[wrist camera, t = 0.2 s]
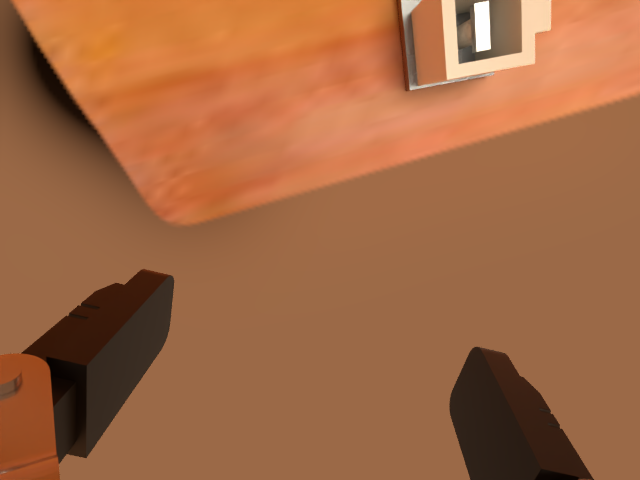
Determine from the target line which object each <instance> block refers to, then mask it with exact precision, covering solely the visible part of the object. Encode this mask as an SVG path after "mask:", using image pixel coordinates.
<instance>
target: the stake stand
mask: <svg viewBox="0 0 640 480" xmlns="http://www.w3.org/2000/svg"><path fill="white" fill-rule="evenodd" d="M421 1H422V0H397V5H398V15H399V25H400V35H401V45H402V55H403V65H404V75H405V85H406V91H409V90H414V89H420V88H425V87H431V86H436V85H441V84H447V83H452V82H458V81H463V80H468V79H474V78H479V77H485V76H490V75H494V72H491V73H487V74H481V75H476V76H470V77H465V78H460V79H454V80H449V81H443V82H438V83H433V84H427V85H422V86H418V81H417V70H416V59H415V48H414V37H413V27H412V16H411V11H412V10H413V9H414V8H415V7H416V6H417V5H418V4H419V3H420V2H421ZM456 28H457V45H458V61H459V64H462V63H468V62H473V61H475V53H476V52H481V51H486V50H489V49H491V47H490V20H489V1H486V2H480V3H475V4H473V5H472V6H470V12H465V13H460V14H456Z"/></svg>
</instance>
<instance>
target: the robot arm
mask: <svg viewBox="0 0 640 480" xmlns="http://www.w3.org/2000/svg"><path fill="white" fill-rule="evenodd" d="M173 289H174V278H173V276H171V275H167V274H163V273H158V272H154V271H150V270H145V269H143V270H141V271H139V272H138V273H137V274H136V275H135V276H134V277H133V278H132V279H130V280H129V281H128V282H127V283H126V284H125V285H123V284H119V283H115V284H112V285H110V286H107V287H105V288H102V289H100V290H98V291H96V292H94V293H93V294H92V295H91V296H89V297H88V298H87V299H86V300H85V301H83V302H82V303H81V306H77V307H76V308H75V309H74V310H73V311H71V312H70V313H69V316H65V317H64V318H63V319H62V320H61V321H59V322H58V323H57V324H56V325H55V326H53V327H52V328H51V329H50V330H48V331H47V332H46V333H45V334H44V335H43V336H41V337H40V338H39V339H38V340H37V341H35V342H34V343H33V344H32V345H31V346H29V347H28V348H27V349H26V350H25V351H23V352H22V353H21V354H19V353H18V354H4V355H0V480H60V474H59V463H60V462H61V461H62V459H63V458H64V457H65V455H66V454H69V455H74V456H79V457H84V458H87V456H88V455H89V453H90V452H91V451H92V449H93V448H94V446H95V445H96V443H97V441H98V440H99V439H100V438H101V436H102V435H103V433H104V432H105V430H106V429H107V427H108V426H109V424H110V423H111V422H112V420H113V419H114V417H115V416H116V414H117V413H118V412H119V410H120V409H121V407H122V406H123V404H124V403H125V401H126V400H127V398H128V397H129V395H130V394H131V393H132V391H133V390H134V388H135V387H136V385H137V384H138V383H139V381H140V380H141V378H142V377H143V375H144V374H145V372H146V371H147V370H148V368H149V367H150V365H151V364H152V362H153V361H154V359H155V358H156V357H157V355H158V354H159V352H160V351H161V349H162V347H163V345H164V343H165V341H166V338H167V335H168V332H169V327H170V318H171V309H172V298H173ZM550 412H551V411H550V409H549V407H548V406H547V404H546V402H545V401H544V399H543V397H542V396H541V394H540V393H539V392H538V391H537V390H536V389H535V388H534V387H533V386H532V385H531V384H530V383H529V382H528V381H527V380H526V379H525V378H523V377H521V376H519V374H518V372H517V370H516V369H515V367H514V365H513V364H512V362H511V360H510V359H509V357H508V356H507V355H506V354H505V353H502V352H497V351H493V350H489V349H485V348H480V347H474V348H473V349H472V350H471V351H470V353H469V355H468V357H467V359H466V362H465V364H464V366H463V368H462V370H461V373H460V375H459V377H458V379H457V381H456V384H455V386H454V388H453V390H452V393H451V397H450V415H451V419H452V422H453V425H454V428H455V432H456V435H457V438H458V441H459V444H460V448H461V451H462V454H463V457H464V460H465V464H466V467H467V470H468V473H469V476H470V480H594V479H593V478H592V476H591V474H590V473H589V471H588V470H587V468H586V467H585V465H584V463H583V462H582V460H581V458H580V457H579V455H578V454H577V452H576V450H575V449H574V448H573V446H572V444H571V442H570V441H569V439H568V438H567V436H566V434H565V433H564V431H563V430H562V429H560V425H559V423H558V421H557V420H556V418H555V417H554V415H553V414H551V413H550Z"/></svg>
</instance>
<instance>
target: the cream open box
mask: <svg viewBox="0 0 640 480" xmlns="http://www.w3.org/2000/svg"><path fill="white" fill-rule="evenodd" d="M486 1H489V20H490V47H491V49H489V50H486V51H481V52H476V53H475V61H473V62H468V63H462V64H459V61H458V45H457V28H456V14H460V13H465V12H470V6H472V5H473V4H475V3H480V2H486ZM411 16H412V27H413V37H414V48H415V59H416V70H417V81H418V86H422V85H427V84H433V83H438V82H443V81H449V80H454V79H460V78H465V77H470V76H476V75H481V74H487V73H491V72H496V71H501V70H506V69H511V68H516V67H520V66H525V65H530V64H535V34H540V33H544V32H547V31H550V30H551V0H422V1H421V2H420V3H419V4H418V5H417V6H416V7H415V8H414V9H413V10H412V11H411Z"/></svg>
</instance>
